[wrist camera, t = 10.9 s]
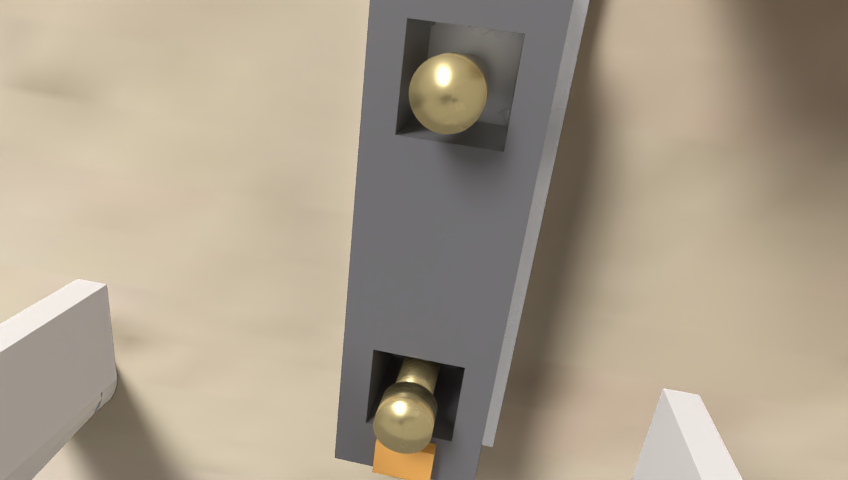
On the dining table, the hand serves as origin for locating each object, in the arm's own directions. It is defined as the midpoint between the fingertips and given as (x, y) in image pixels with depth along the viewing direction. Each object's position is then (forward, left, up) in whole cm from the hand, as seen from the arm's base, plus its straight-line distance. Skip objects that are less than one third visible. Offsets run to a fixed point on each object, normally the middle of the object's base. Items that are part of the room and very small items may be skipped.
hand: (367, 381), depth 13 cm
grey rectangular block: (0, 0, -12) cm, 12 cm away
